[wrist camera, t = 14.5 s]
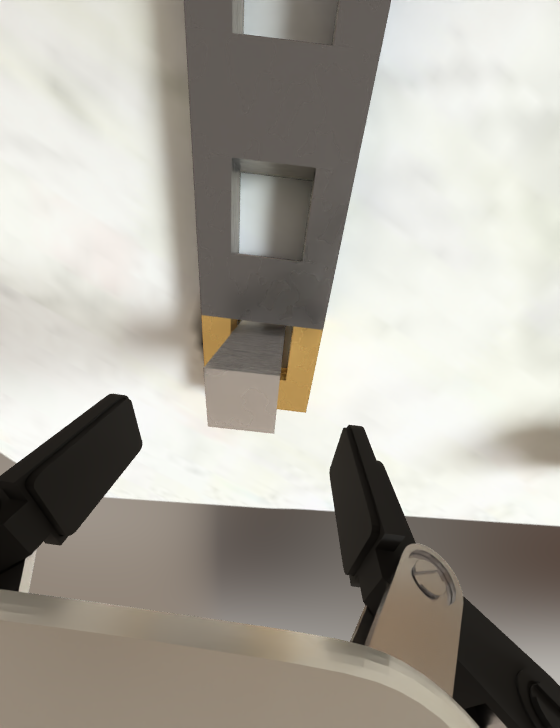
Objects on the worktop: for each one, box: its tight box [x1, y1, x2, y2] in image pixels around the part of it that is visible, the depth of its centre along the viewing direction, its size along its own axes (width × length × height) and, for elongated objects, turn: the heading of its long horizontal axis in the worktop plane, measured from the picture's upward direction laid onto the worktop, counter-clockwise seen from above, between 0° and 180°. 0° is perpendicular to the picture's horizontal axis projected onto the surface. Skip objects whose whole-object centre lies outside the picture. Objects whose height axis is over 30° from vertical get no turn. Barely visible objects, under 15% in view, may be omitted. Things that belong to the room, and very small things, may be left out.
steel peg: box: [204, 320, 286, 434], centre depth 16 cm, size 4×4×10 cm
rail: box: [184, 0, 391, 413], centre depth 15 cm, size 32×10×2 cm, turn 174°
